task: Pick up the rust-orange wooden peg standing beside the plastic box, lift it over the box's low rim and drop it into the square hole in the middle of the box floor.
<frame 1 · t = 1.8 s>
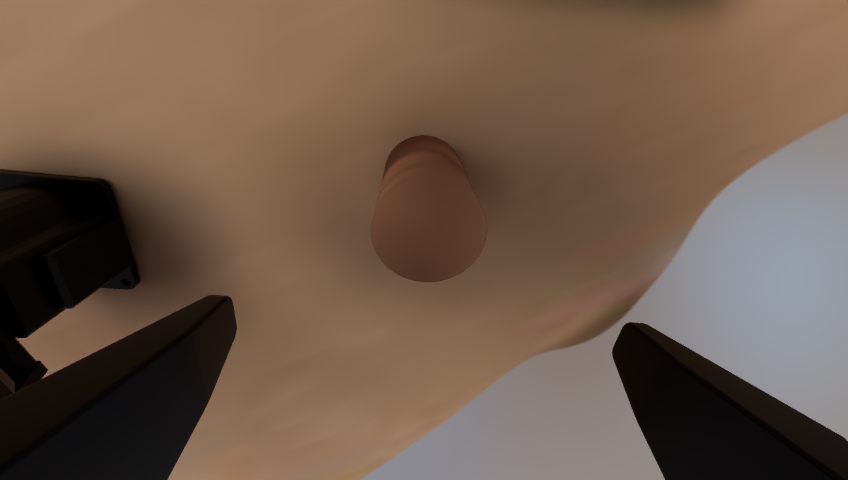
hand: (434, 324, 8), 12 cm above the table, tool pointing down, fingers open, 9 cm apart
peg: (423, 174, 18), on the table
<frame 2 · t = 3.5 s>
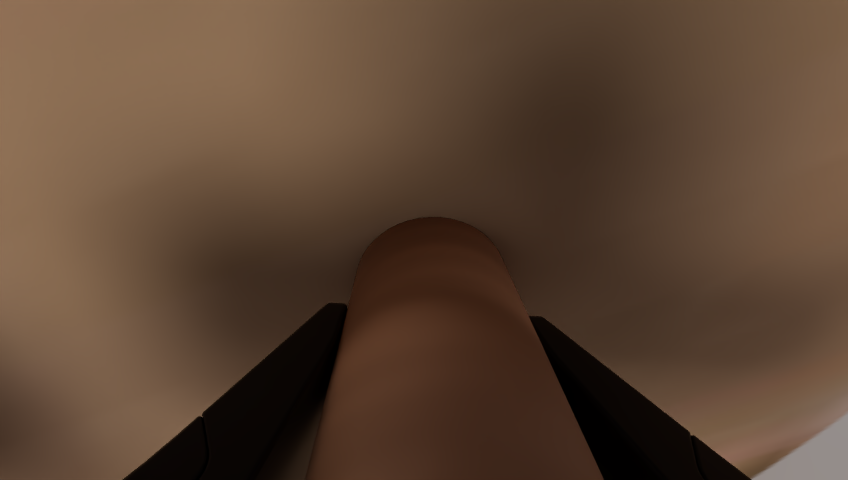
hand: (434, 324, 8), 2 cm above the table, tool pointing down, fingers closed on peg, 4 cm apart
peg: (431, 285, 9), on the table, touching gripper
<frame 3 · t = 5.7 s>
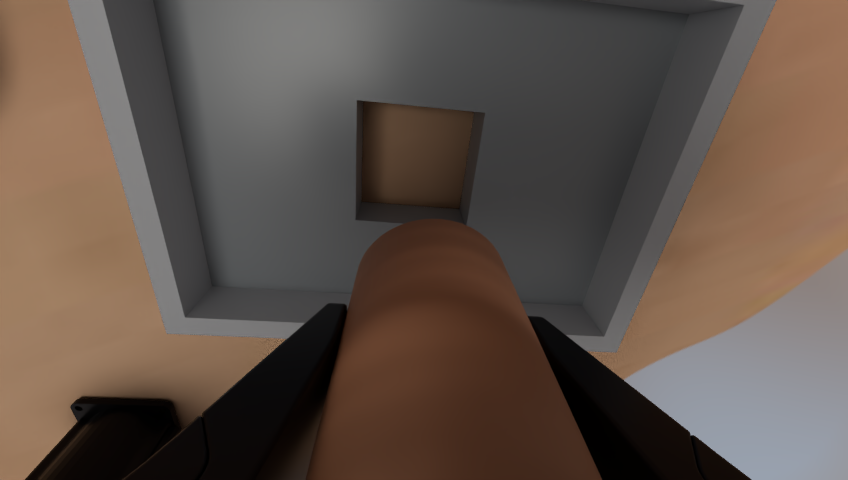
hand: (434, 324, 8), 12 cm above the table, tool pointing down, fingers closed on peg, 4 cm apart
peg: (431, 287, 9), point 10 cm above the table, touching gripper
socket box: (415, 156, 18), on the table
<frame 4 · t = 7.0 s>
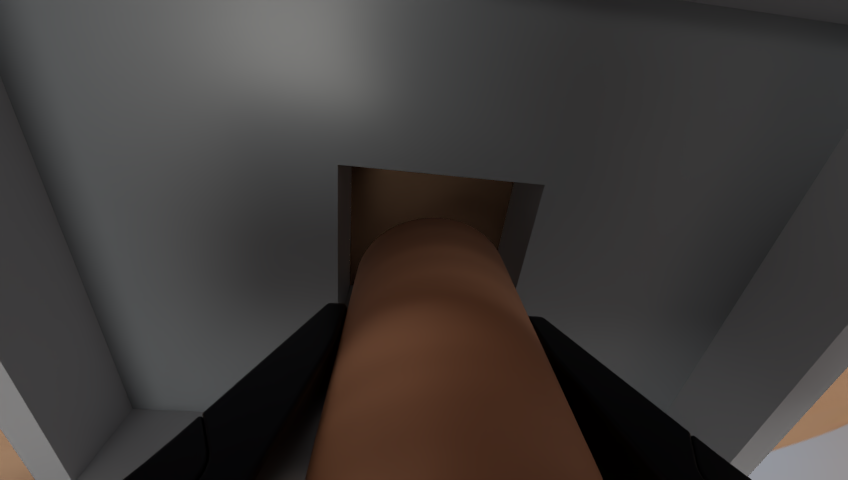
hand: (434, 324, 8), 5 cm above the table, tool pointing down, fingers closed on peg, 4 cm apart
peg: (431, 286, 9), point 4 cm above the table, touching gripper
socket box: (427, 227, 13), on the table
when the fingers open (3 cm above the table, at t = 8.1 s): peg drops 1 cm, resting in socket box.
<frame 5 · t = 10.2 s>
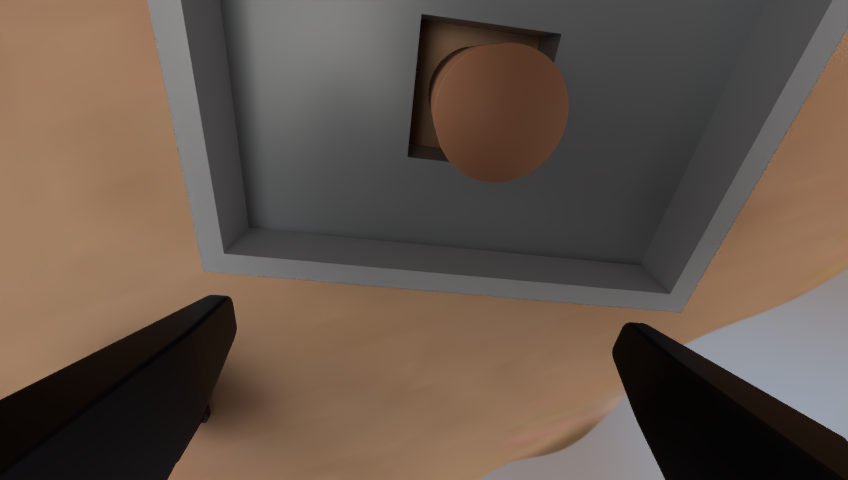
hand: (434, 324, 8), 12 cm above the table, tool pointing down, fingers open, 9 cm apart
peg: (470, 94, 17), resting in socket box
socket box: (470, 93, 17), on the table
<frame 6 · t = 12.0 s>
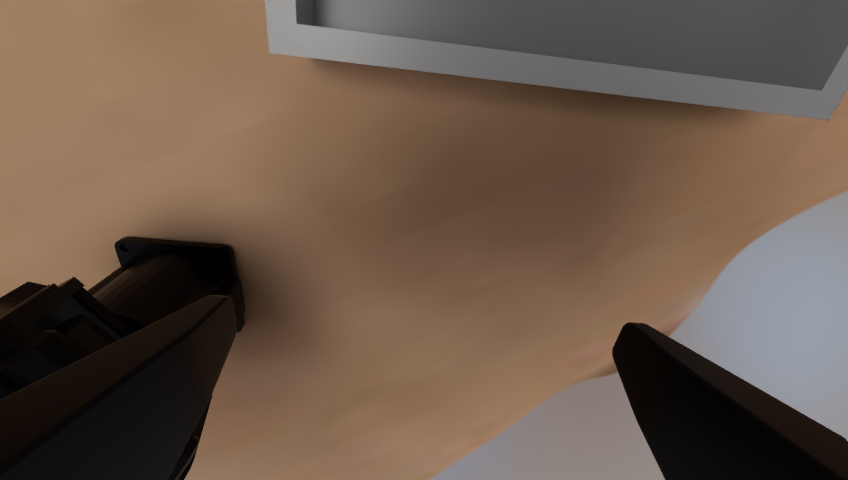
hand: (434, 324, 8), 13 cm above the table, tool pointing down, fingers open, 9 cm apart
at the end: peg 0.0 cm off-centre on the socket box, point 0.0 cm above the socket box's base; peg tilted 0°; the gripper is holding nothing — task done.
